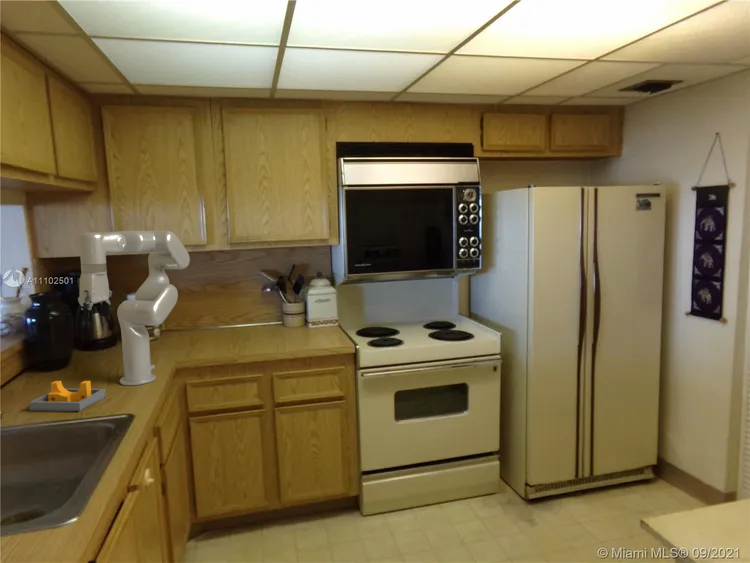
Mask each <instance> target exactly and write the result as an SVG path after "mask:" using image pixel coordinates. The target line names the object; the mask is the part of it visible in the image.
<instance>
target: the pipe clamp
mask: <svg viewBox="0 0 750 563" xmlns="http://www.w3.org/2000/svg"><path fill="white" fill-rule="evenodd" d="M65 388H66V387H64V386H63V383H62V380H55V381H53V382H50V392H51V393H50V392H48V393H49V394H48V401H50V402H79V401H81V400H83V399H85V398H87V397H89V396H90V395H91V389H92V385H91V380H84V381H82V382H80V386H79V388H78V389H79V390H78V391H77V392H69V391H67V390H66V389H65Z"/></svg>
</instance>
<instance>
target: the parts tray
mask: <svg viewBox="0 0 750 563" xmlns="http://www.w3.org/2000/svg"><path fill="white" fill-rule="evenodd" d="M64 388H65V389H66V390H67V391H69V392H77V391H78V390H79V388H71V387H70V388H68V387H67V388H66V387H64ZM49 393H51V391H50V392H47V393H46V394H43V395H41V396H39V397H36V398H35V399H33V400H31V401H28V405H29V407H28V408H29V412H50V411H81V410H83V409H84V408H86V407H88V406H90V405H91V406H93V405H95V404H96V403H95V402H97V401H98V402H100V401H101V399H102V400H104V399H105V398H106V389H105V388H91V395H90V396H89V397H87V398H85V399H83V400H81V401H79V402H50V401H48V394H49ZM99 400H100V401H99ZM98 402H97V403H98ZM94 403H95V404H94ZM92 404H93V405H92ZM91 406H90V407H91ZM88 408H89V407H88ZM86 409H87V408H86ZM84 410H85V409H84ZM84 410H83V411H84ZM81 412H82V411H81Z"/></svg>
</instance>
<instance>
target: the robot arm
mask: <svg viewBox="0 0 750 563" xmlns="http://www.w3.org/2000/svg"><path fill="white" fill-rule="evenodd" d="M78 241H79V242H78V244H79V257H80V270H81V274H80V277H79V296H78V298H77V301H78V304H79V307H80V310H82V321H83V322H84V323H85V322H89V323H90V322H91V323H92V322H93V321H94V310H93V309H92V308H93V306H94V304H97V303H100V305H99V306H100V307H99V310H100V316H101V317H111V300H112V295H113V291H112V290H110V288H109V287H110V285H109V279H108V274H107V273H108V270H107V255H106V254H119V253H123V254H128V253H129V254H132V253H133V254H135V253H149V255H148V257H147V260H148V261H147V262H148V276H147V278H146V280H145V281H144V282H143V283H142V284H141V285H140V286H139V287H138V289H137V291H136V292H135V296H134V299H133V300H132V299H131V300H126V301H123V302H122V303H121V304H119V305H118V308H117V311H116V314H117V319H118V323H119V327H120V332H121V346H122V348H121V349H122V363H123V364H122V366H123V376H122V377H121V378H120V379H119V384H121V385H123V386H137V385H138V386H139V385H145V384H148V383H151V382H153V381H155V380H156V378H157V377H156V375H155V374H153V373H152V371H153V370H154V369H155V367H156V366H155V365H154V364H151V352H150V351H151V350H150V336H149V335H150V334H149V332H148V330H147V328H146V326H152V327H156V326H159V325H162V323H164V321H165V320H166V319H167V318H168V316H169V315H170V313H171V312H172V311H173V309H174V308H175V306H176V304H177V302H178V298H179V297H178V296H179V292H178V289H177V287H175V285H173V284H171V283H170V280H169V277H168V274H167V273H166V271H165V270H184V269H186V268H187V267H188V266H189V265H190V261H191V258H190V254H189V252H188V250H187V249H186V246H184V244H183V243H182V241H181V240H180V238H179V237H178V236H177V235H176V234H175V233H174V232H172V231H170V230H123V231H122V230H120V231H89V232H84V233H81V234H79V238H78Z"/></svg>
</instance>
